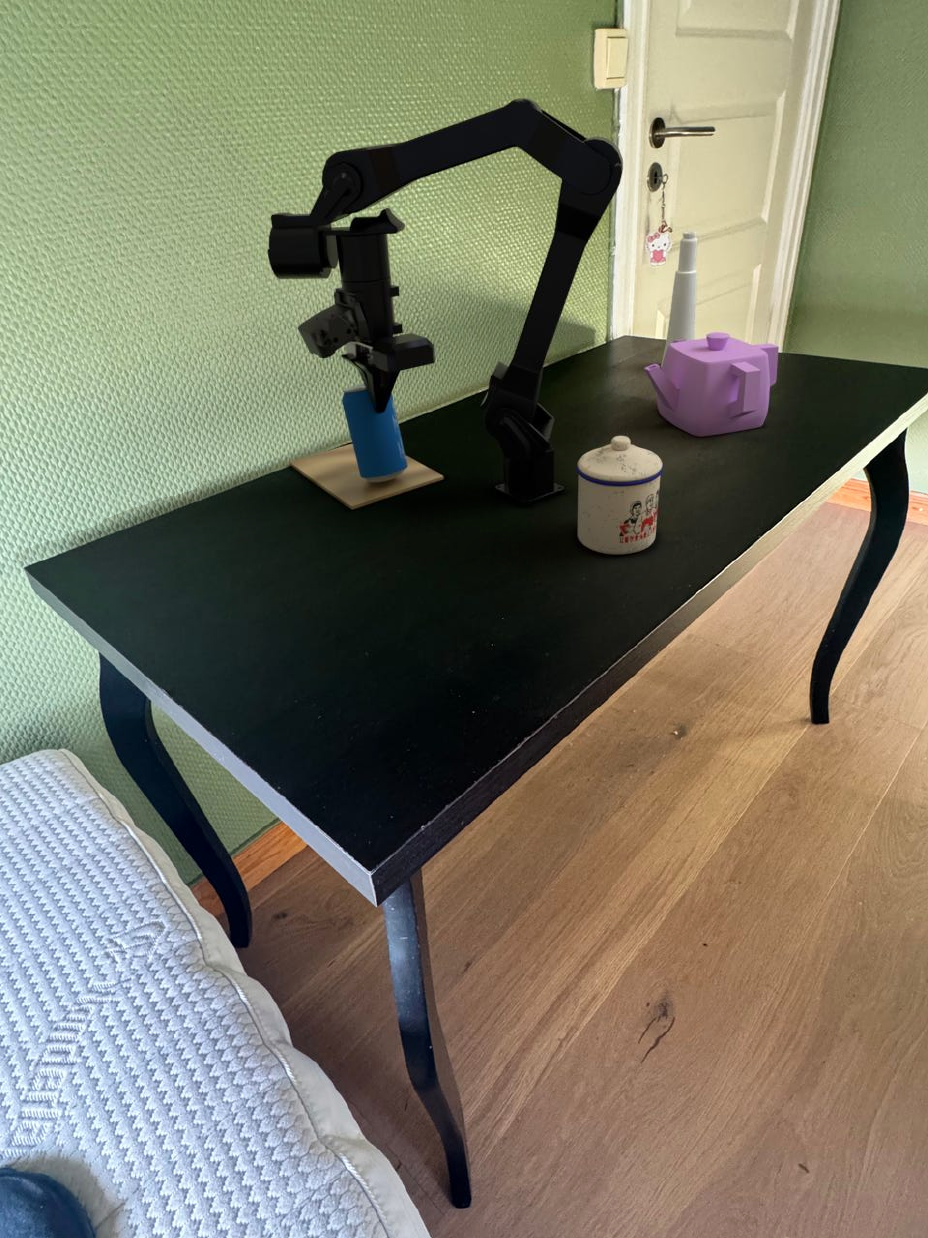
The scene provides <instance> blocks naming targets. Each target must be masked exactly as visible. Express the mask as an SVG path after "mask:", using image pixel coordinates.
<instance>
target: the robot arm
mask: <svg viewBox="0 0 928 1238" xmlns="http://www.w3.org/2000/svg"><path fill="white" fill-rule="evenodd" d="M512 148H518V149H520V150H521V151H523V152H524V153H526V155H528V156H529V157H531V158H532V159H533V160H535V161H536V162H537V163H539V164H540V165H541V166H542V167H544V168H545V169H546V170H547V171H549V172H551V173H552V174H553V175H555V176H557V177H558V178H560V179H561V182H560V188H559V194H558V201H557V208H556V216H555V224H554V230H553V235H552V239H551V242H550V245H549V248H548V251H547V254H546V256H545V260H544V263H543V266H542V269H541V272H540V275H539V278H538V281H537V284H536V287H535V290H534V293H533V296H532V299H531V302H530V305H529V308H528V311H527V313H526V317H525V320H524V323H523V327H522V329H521V332H520V335H519V339H518V342H517V344H516V347H515V350H514V352H513V353H514V354H513V356H512V358H511V360H510V362H509V363H508V365H507V364H505V363H503V362H501V361H497V363H496V365H495V367H494V369H493V370H492V372H491V375H490V376H489V383H488V390H487V392H486V394H485V397H484V398H483V400H482V402H481V404H480V407H479V408H480V409H481V410H484V412H483V418H482V419H483V426H484V427H485V429H486V431H487V432H488V434H490V436H491V437H492V438H493V439H495V440H496V441H497V442H498V444H499V446H500V449H501V451H502V465H503V466H502V467H503V469H502V471H503V481H504V483H501V484H498V485H495V489H494V491H496V492H497V493H499V494H501V495H503V496H505V497H507V498H508V499H510V500H512V501H514V502H516V503H518V504H520V505H522V506H529V505H532V504H534V503H537V502H541V501H542V500H545V499H547V498H551V497H553V496H556V495H558V494H561V493H563V492H564V491H565V490H564V486H561V485H560V484H558V483H555V447H552V443H551V442H550V440H551V436H552V432H553V428H554V425H555V417H554V416H553V415H552V414H551V413H549V411H547V409H545V407H543V406H542V405H541V403H539V398H540V392H541V387H542V380H543V373H544V366H545V360H546V357H547V355H548V353H549V349H550V346H551V344H552V342H553V338H554V336H555V332H556V330H557V327H558V324H559V321H560V320H561V319H560V318H561V316H562V313H563V310H564V308H565V305H566V302H567V299H568V296H569V293H570V291H571V288H572V285H573V282H574V280H575V277H576V274H577V271H578V268H579V265H580V263H581V260H582V257H583V255H584V251H585V248H586V246H587V245H588V243H589V241H590V239H591V237H592V235H593V234H594V232H595V231H596V229H597V227H598V225H599V223H600V222H601V219H602V218H603V216H604V214H605V213H606V210H607V209H608V207H609V205H610V204H611V201H612V200H613V198H614V196H615V194H616V192H617V191H618V188H619V186H620V184H621V180H622V176H623V171H624V159H623V156H622V153H621V151H620V148H619V147H618V146H617V144H616V143H615V142H614V141H612V140H610V139H609V138H607V137H604V136H599V135H597V136H592V137H586V136H585V135H583V134H582V133H580V132H579V131H577V130H575V129H574V128H573V127H570V126H569V125H568V124H566V123H564V122H563V121H561V120H560V119H558V118H556V117H554V116H553V115H551V114H550V113H548V111H545V110H544V109H543V108H541V106H540V105H539V104H538V103H537V101H536V102H535V100H533V99H530V98H525V97H522V98H516V99H515V98H514V99H513V100H511V101H509V102H508V103H507V104H506V105H504V106H502V107H499V108H496V109H493V110H491V111H487V112H484V113H482V114H478V115H476V116H473V117H470V118H468V119H465V120H462V121H459V122H456V123H454V124H451V125H448V126H445V127H442V128H439V129H437V130H434V131H432V132H428V133H426V134H423V135H420V136H417V137H414V138H412V139H409V140H405V141H402V142H401V141H400V142H394V143H386V144H385V143H383V144H378V145H371V146H362V147H356V148H350V149H345V150H340V151H336V152H334V153H333V154H331V155H329V157H328V158H327V159H326V160H325V162H324V165H323V168H322V170H321V171H322V172H321V185H322V188H321V190H320V192H319V194H318V196H317V199H316V201H315V202H314V205H313V207H312V209H311V211H310V213H291V212H275V213H273V214H271V215H270V221H271V228H270V231H269V235H268V248H267V258H268V262H269V265H270V268H271V271H272V273H273V274H274V276H275V277H276V278H277V279H278V280H312V279H313V280H318V279H319V280H321V279H325V280H326V279H328V278H329V277H330V276H331V273H332V270H334V269H337V268H338V267H339V277H340V284H341V287H336V288H335V289H334V290H335V291H334V292H333V302H334V303H333V304H332V305H330V306H329V307H327V308H324V309H322V310H320V311H319V312H317V313H316V314H315V315H312V316H311V317H310V318H308V319H307V320H305V321H303V322H302V323H300V324H299V325H298V327H297V330H298V332H299V334H300V336H301V338H302V340H303V342H304V344H305V346H306V348H307V351H309V353H310V354H311V355H316V356H318V357H319V358H320V359H328V358H330V357H332V356H334V355H335V354H336V353H337V351H338V350H339V349H341V348H343V347H345V353H343V354H341V355H340V357H341V359H343V361H346V362H347V363H348V364H350V365H351V366H353V367H354V368H355V369H356V370H357V372H358V373H359V375H360V378H361V380H362V382H363V383H364V385H365V387H366V390H367V392H368V394H369V397H370V399H371V402H372V404H373V407H374V409H375V412H376V413H378V414H379V413H383V412H385V410H386V407H387V404H388V402H389V399H390V396H391V393H392V394H393V390H394V387H395V386H396V383H397V379H398V378H399V375H400V374H401V372H402V371H407V370H410V369H414V368H419V367H423V366H428V365H429V366H430V365H433V364H435V363H436V354H435V353H436V352H435V344H434V343H433V342H431V340H430V339H428V337H425V336H422V335H419V334H416V333H412V332H409V333H404V328H403V323H401V322H397V321H396V317H395V316H396V315H395V306H394V297H400V295H401V292H400V286H399V285H395V284H393V283H392V274H391V264H390V262H391V261H390V252H389V240H388V235H396V234H398V233H400V232H402V231H404V230H405V229H406V224H405V222H403V221H402V220H400V218H398V217H397V216H396V215H395V214H394V212H392V210H391V208H390V207H385V208H383V209H381V210H380V212H379V214H378V215H373V216H371V215H370V216H354V217H353V218H352V219H351V222H350V225H349V226H333V227H332V224H333V223H336V222H338V221H341V220H343V219H345V218H348V217H350V216H351V215H352V214H357V213H360V212H361V211H364V210H366V209H370V208H371V207H374V206H377V205H378V204H379V203H381V202H383V201H385V200H387V199H388V198H390V197H392V196H393V195H395V194H396V193H398V192H400V191H401V190H403V189H405V188H407V187H408V186H409V185H412V184H413V183H414V182H416V181H418V180H421V179H423V178H426V177H430V176H433V175H436V174H438V173H441V172H443V171H446V170H447V171H448V170H450V169H452V168H456V167H459V166H462V165H465V164H468V163H471V162H474V161H476V160H480V159H482V158H486V157H488V156H491V155H494V154H498V153H500V152H503V151H506V150H507V151H508V150H509V149H512Z"/></svg>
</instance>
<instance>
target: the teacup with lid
mask: <svg viewBox="0 0 928 1238" xmlns="http://www.w3.org/2000/svg"><path fill="white" fill-rule="evenodd" d="M576 472H577V474H578V488H577V491H578V493H577V538H578V540H579V542H580V543H581V544H582V545H583V546H584V547H586V548H587V549H589V550H592V551H594V552H597V553H599V554H600V553H601V554H605V555H617V556H618V555H630V554H635V553H638V552H641V551H644V550H645V549H648V548H649V547H650V546H652V544H653V543H654V541H655V540H656V535H657V534H656V533H657V524H658V523H657V522H658V511H659V498H660V485H661V476H662V474H663V473H664V464H663V461H662V459H661V458H660V456H659V455H657V454H656V453H655V452H653V451H651V450H649V449H646V448H642V447H638V446H636V445H635V444H631V439H630V438H629V437H628V436H625V435H616V436H614V437H613V438H611V441H610V444H606V445H604V446H602V447H598V448H594V449H592V450H591V449H590V451H587V452H585V453H584V454H583V455H582V456H580V458H579V460H578V461H577V464H576Z"/></svg>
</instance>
